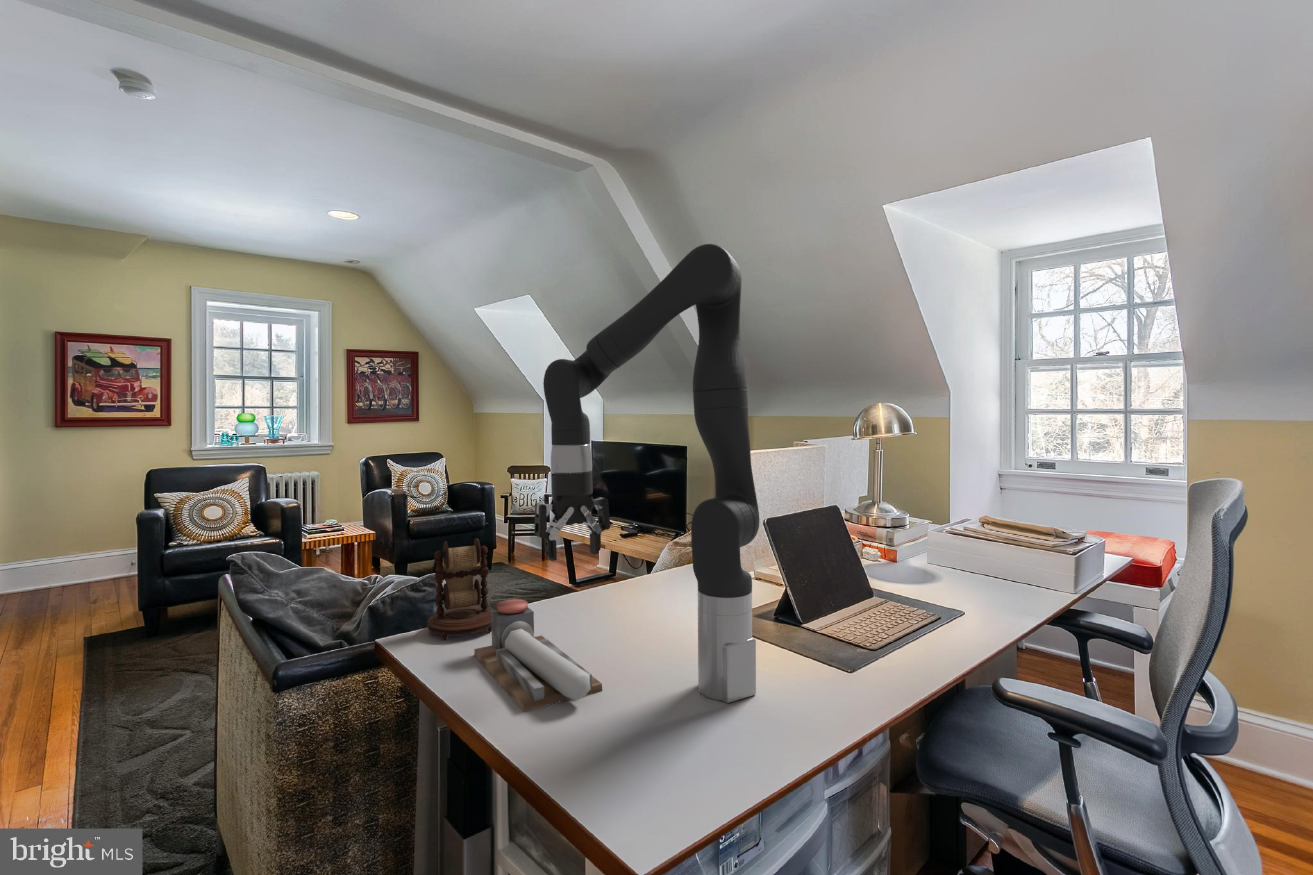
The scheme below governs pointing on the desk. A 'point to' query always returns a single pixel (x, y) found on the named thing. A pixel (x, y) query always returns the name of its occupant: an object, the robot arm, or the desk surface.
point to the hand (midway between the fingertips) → (573, 556)
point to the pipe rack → (509, 670)
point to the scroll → (461, 592)
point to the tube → (548, 664)
